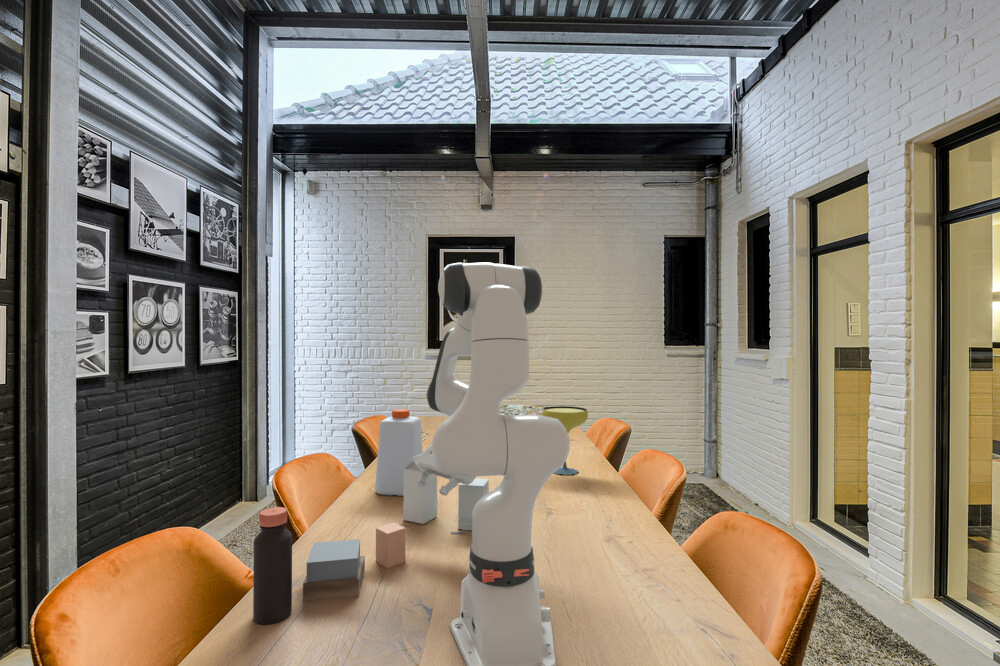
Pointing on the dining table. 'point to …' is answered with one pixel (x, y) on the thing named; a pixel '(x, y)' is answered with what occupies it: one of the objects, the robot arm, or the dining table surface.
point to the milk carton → (419, 495)
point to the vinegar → (272, 568)
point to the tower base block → (334, 586)
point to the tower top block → (333, 560)
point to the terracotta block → (390, 545)
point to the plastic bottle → (396, 450)
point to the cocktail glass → (567, 424)
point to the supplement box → (470, 501)
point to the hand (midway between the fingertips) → (430, 489)
